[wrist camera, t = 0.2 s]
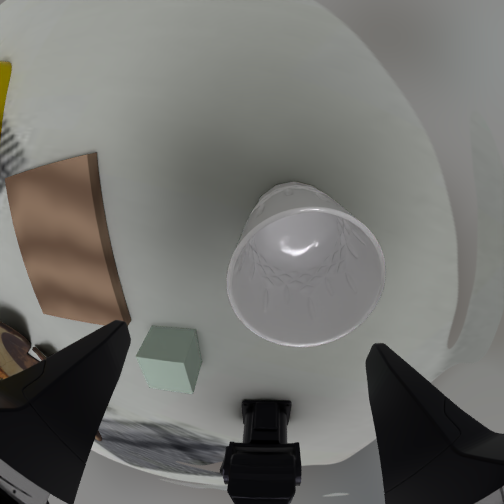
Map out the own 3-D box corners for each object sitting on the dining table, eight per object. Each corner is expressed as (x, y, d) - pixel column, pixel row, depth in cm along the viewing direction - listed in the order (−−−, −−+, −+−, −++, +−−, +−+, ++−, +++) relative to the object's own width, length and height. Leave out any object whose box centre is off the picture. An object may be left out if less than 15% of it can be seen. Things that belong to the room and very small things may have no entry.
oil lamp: (-1, 277, 28) (-31, 302, 21) (127, 405, 36) (112, 441, 29) (-11, 327, 35) (-30, 347, 28) (83, 419, 43) (71, 444, 36)
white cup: (225, 229, 22) (196, 297, 13) (286, 153, 20) (300, 168, 10) (298, 281, 24) (310, 365, 15) (359, 216, 21) (413, 275, 12)
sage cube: (202, 360, 29) (193, 394, 25) (162, 356, 30) (149, 387, 25) (195, 328, 27) (183, 363, 23) (152, 325, 28) (135, 356, 23)
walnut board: (131, 320, 27) (126, 328, 26) (49, 307, 28) (43, 313, 27) (96, 152, 20) (87, 154, 19) (13, 175, 21) (4, 178, 20)
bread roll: (-14, 351, 40) (-22, 364, 36) (12, 369, 43) (5, 383, 38) (-3, 373, 45) (-8, 384, 41) (23, 389, 48) (18, 401, 43)
